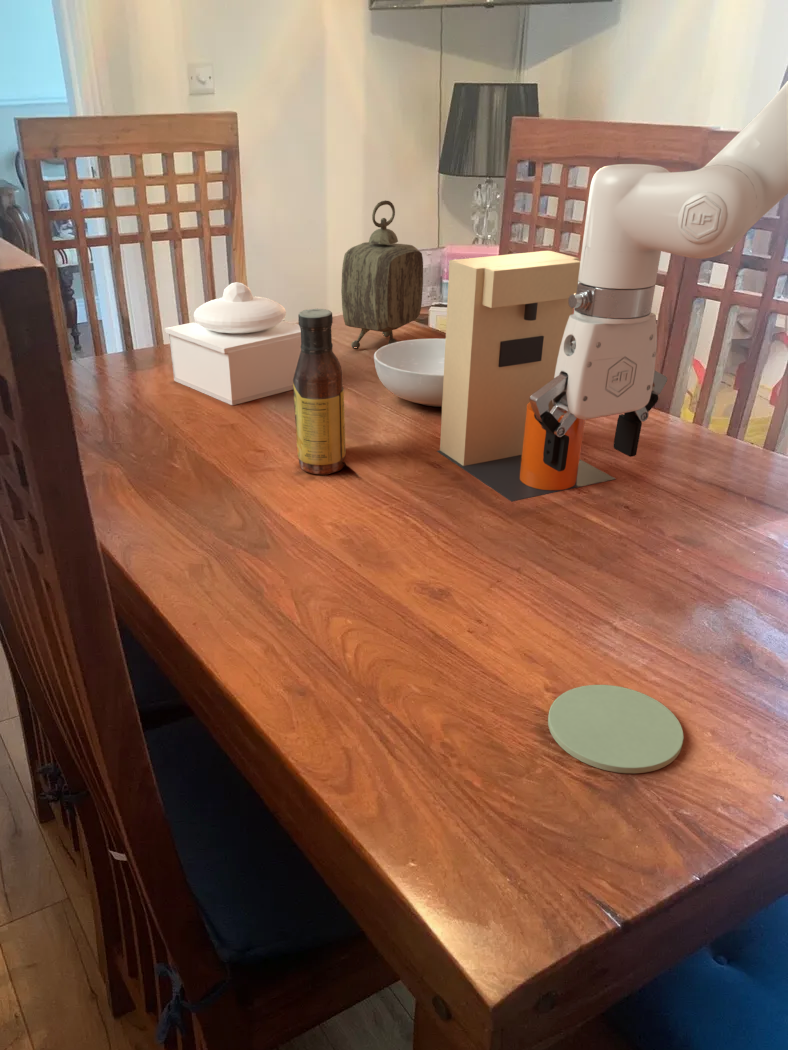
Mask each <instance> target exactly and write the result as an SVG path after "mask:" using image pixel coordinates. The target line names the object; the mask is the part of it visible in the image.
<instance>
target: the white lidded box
mask: <svg viewBox="0 0 788 1050" xmlns="http://www.w3.org/2000/svg"><path fill="white" fill-rule="evenodd" d="M286 315H287V312H286V309H285V307H284V306H283V305H282V304H280V302H277V301H276V300H273V299H270V298H266V297H263V296H257V295H256V296H255V295H253V293H252V291H251V288H250V287H249V286H247V285H246V284H244V283H243V282H238V281H235V282H231V283H229V284H228V285H227V286H226V287H225V288H224V289H223V293H222V297H218V298H215V299H211V300H208V301H206V302H204V303H202V304H201V305H199V306H198V307H197V308H196V309H195V310H194V312H193V319H194V321H193V322H188V323H183V324H178V325H172V326H168V327H164V332H165V333H166V334H168V338H169V345H170V346H169V347H170V348H169V349H170V355H171V356H170V357H171V364H172V374H173V381H174V382H176V383H178V384H181V385H183V386H185V387H188V388H189V389H193V390H195V391H197V392H199V393H201V394H204V395H206V396H209V397H211V398H214V399H216V400H217V401H220V402H223V403H225V404H227V405H230V406H235V405H240V404H243V403H247V402H251V401H255V400H259V399H262V398H266V397H270V396H274V395H278V394H281V393H285V392H288V391H292V390H293V391H294V389H293V378H294V374H295V370H296V367H297V363H298V359H299V356H300V352H301V329H300V326H299V323H295V322H292V321H288V320H285V318H286Z"/></svg>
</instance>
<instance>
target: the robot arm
mask: <svg viewBox="0 0 788 1050" xmlns="http://www.w3.org/2000/svg"><path fill="white" fill-rule="evenodd" d="M588 193H589V194H588V198H587V206H586V215H585V222H584V223H585V224H584V232H583V239H582V245H581V246H582V247H581V254H580V260H579V261H580V269H579V277H578V284H577V292H576V294H572V295H570V297H569V300H568V304H569V306H570V307H571V308H573V313H572V315H570V316H569V319H568V322H567V325H566V328H565V331H564V335H563V338H562V342H561V346H560V350H559V354H558V359H557V364H556V369H555V376H554V379H553V380H551V381H550V382H549V383H547V384H546V385H544V386H543V387H542V388H540V389H539V390H538V391H536V392H535V393H533V394H532V395H531V396H530V399H529V401H530V404H531V406H532V409H533V412H534V413H535V414H534V417H535V419H536V420H537V421H538V422H539V423H540V424H541V427H542V428H543V429H544V430H546V436H545V444H544V452H543V462H544V463H545V464H546V465H548V466H550V467H552V468H553V469H555V470H557V471H563V470H564V469H565V467H566V460H567V453H568V445H569V436H567V435H565V433H566V432H567V430H568V429H569V428H570V426H571V425H572V424H573V423H574V421H575V420H576V419H577V418H579V419H583V420H585V421H586V420H593V419H599V418H605V417H611V416H616V415H618V417H617V421H616V427H615V433H614V439H613V446H612V447H613V449H614V450H616V451H618V452H621V453H622V454H623V455H625V456H628V457H630V458H632V457H636V456H637V453H638V448H639V442H640V437H641V432H642V431H641V430H642V425H643V422H646V421H647V420H648V418H649V415H650V414H649V412H650V411H651V410H652V409H653V407H655V405H656V404H657V402H658V401H659V395H661V393H662V391H663V389H664V388H665V386H666V384H667V381H668V377H667V376H666V375H664V374H662V373H661V372H659V371H658V370H656V369H655V368H656V361H657V360H656V359H657V350H658V349H657V346H658V327H657V315H656V314H655V313H653V312H651V311H652V308H653V303H654V297H655V291H656V285H657V284H656V282H657V277H658V271H659V265H660V261H661V255H662V253H668V254H671V255H674V256H680V257H684V258H689V259H697V260H703V259H711V258H715V257H718V256H721V255H722V254H724V253H726V252H728V251H729V250H731V249H732V248H733V247H735V246H736V245H737V244H738V243H739V242H740V241H741V240H742V238H743V237H744V236H745V235H746V234H747V232H748V231H749V230H750V229H751V228H752V227H753V226H754V225H755V224H757V222H759V221H760V219H762V217H764V216H765V215H766V214H767V213H768V212H769V211H770V210H771V209H773V208H774V207H775V206H776V205H777V204H778V203H779V202H780V201H782V200H783V198H785V197H786V196H787V195H788V80H787V81H786V82H785V83H784V85H782V87H781V88H780V89H779V90H778V91H777V93H776V94H775V95H774V96H773V97H772V98H771V99H770V101H768V102H767V104H766V105H764V107H763V108H762V109H760V111H759V112H758V113H756V115H755V116H754V117H753V118H752V119H751V120H750V121H749V122H748V123H747V124H746V125H745V126H744V127H743V128H742V129H741V130H740V131H739V132H738V133H737V134H736V135H735V136H734V137H733V138H732V139H731V140H730V141H729V142H728V143H727V144H726V145H725V146H724V147H723V148H722V149H721V150H720V151H719V152H718V153H717V154H716V155H715V156H714V157H712V159H710V160H709V162H708V163H706V164H705V165H704V166H703V167H701V168H699V169H694V170H688V171H675V172H674V171H673V172H671V171H669V170H668V169H667V168H666V167H663V166H661V165H654V164H646V163H645V164H643V163H621V164H620V163H619V164H610V165H605V166H603V167H601V168H599V169H598V170H597V171H596V172H595V173H594V174H593V177H592V178H591V181H590V186H589V191H588ZM551 400H552V402H553V405H554V407H553V408H552V409H551V411H549V406H548V405H549V402H550V401H551ZM563 412H564V413H566V414H565V415H564V416H563V418H562V419H561V420H560V422H558V419H559V418H560V417H561V415H562V414H563Z"/></svg>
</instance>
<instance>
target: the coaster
mask: <svg viewBox="0 0 788 1050" xmlns="http://www.w3.org/2000/svg"><path fill="white" fill-rule="evenodd" d="M548 711H549V712H548V715H547V725H548V726H547V727H548V730H549V732H550V735H551V737H552V738H553V739H554V741H555V743H556V744H557V745H558V746H559V747H560V748H561V749H562V750H563V751H565V752H566V754H568V755H570V756H571V757H572V758H574V759H576V760H577V761H579V762H582V763H584V764H586V765H588V766H590V767H593V768H597V769H600V770H603V771H606V772H612V773H617V774H618V773H619V774H633V775H634V774H644V773H650V772H654V771H657V770H658V771H659V770H661V769H662V768H665V767H668V766H669V765H670V764H672V762H674V761H675V760H676V759H677V757H678V756H679V755H680V753H681V751H682V748H683V745H684V739H685V737H684V730H683V726H682V725H681V722H680V720H679V719H678V718H677V716H676V715H675V714H674V713H673V712H672V711H671V710H670V708H668V707H667V706H665V705H664V704H663V703H662V702H661V701H659V700H657V699H655V698H653V697H651V696H650V695H648V694H646V693H643V692H641V691H638V690H635V689H632V688H629V687H623V686H618V685H613V684H612V685H611V684H588V685H582V686H581V685H580V686H578V687H573V688H571V689H569V690H566V691H565V692H563V693H561V694H560V695H559V696H557V697H556V698H555V700H554V701H553V702H552V703H551V705H550V708H549V710H548Z"/></svg>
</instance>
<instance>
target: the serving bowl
mask: <svg viewBox="0 0 788 1050" xmlns="http://www.w3.org/2000/svg"><path fill="white" fill-rule="evenodd" d="M445 340H446V338H438V337H437V338H417V339H415V338H414V339H407V340H406V339H405V340H401V341H397V342H395V343H392V344H386V345H383V346H381V347H380V348H378V349H376V351H375V352H374V354H373V361H374V368H375V371H376V374H377V377H378V379H379V381H380V382H381V384H382V385H383V386H384V387H385V389H386V390H387V391H389V392H390V393H391V394H393V395H394V396H396V397H398V398H400V399H403V400H405V401H408V402H411V403H415V404H419V405H423V406H428V407H434V408H435V407H436V408H442V399H443V380H444V360H445Z"/></svg>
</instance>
